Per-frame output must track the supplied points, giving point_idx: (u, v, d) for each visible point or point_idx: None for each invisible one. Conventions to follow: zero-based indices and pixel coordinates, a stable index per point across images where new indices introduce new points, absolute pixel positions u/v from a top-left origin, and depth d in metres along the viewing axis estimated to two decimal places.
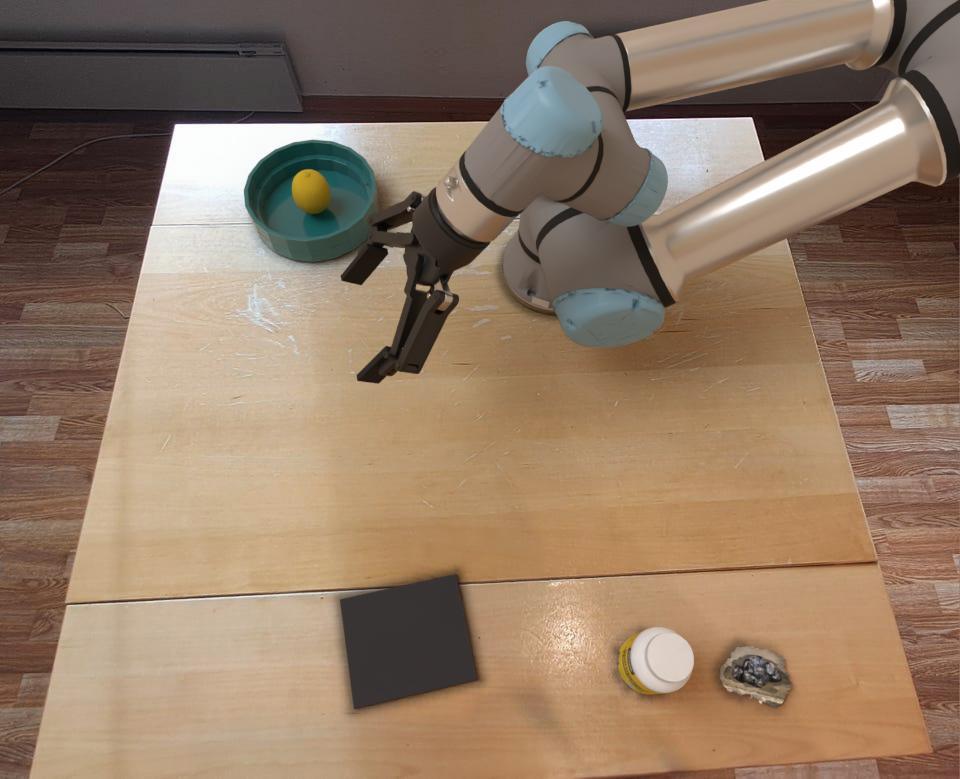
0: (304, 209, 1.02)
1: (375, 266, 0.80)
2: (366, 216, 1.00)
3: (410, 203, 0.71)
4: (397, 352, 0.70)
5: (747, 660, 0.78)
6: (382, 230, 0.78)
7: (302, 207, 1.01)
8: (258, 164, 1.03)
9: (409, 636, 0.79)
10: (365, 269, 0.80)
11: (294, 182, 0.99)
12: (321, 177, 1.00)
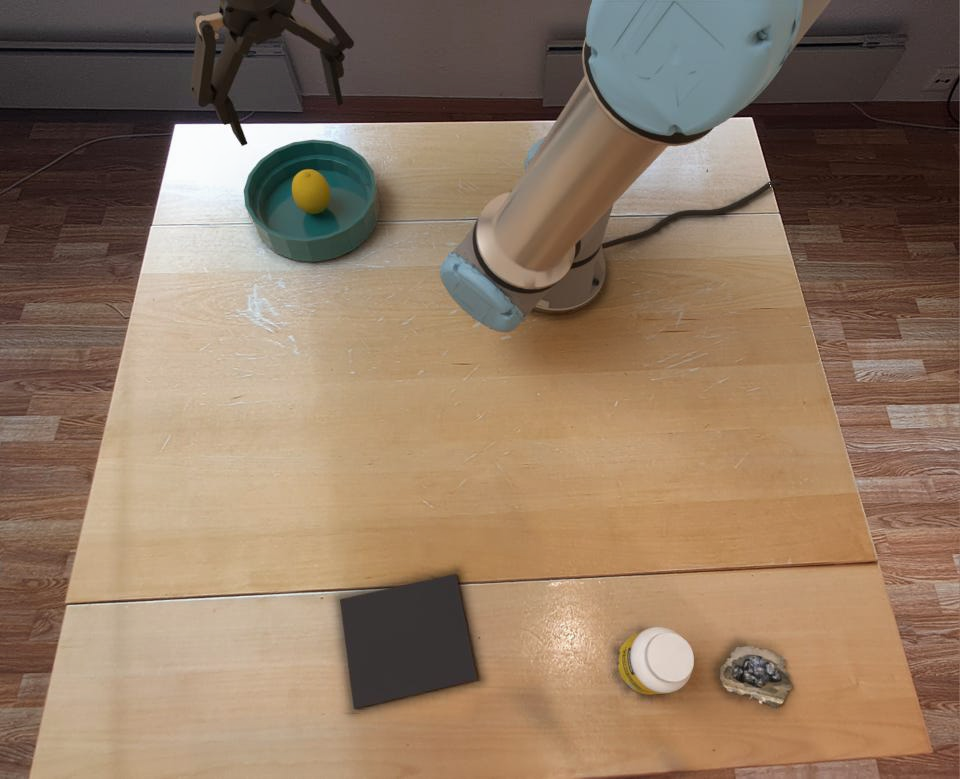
0: (304, 209, 1.02)
1: (332, 80, 0.87)
2: (366, 216, 1.00)
3: None
4: None
5: (747, 660, 0.78)
6: (335, 40, 0.84)
7: (302, 207, 1.01)
8: (258, 164, 1.03)
9: (409, 636, 0.79)
10: (330, 82, 0.88)
11: (294, 182, 0.99)
12: (321, 177, 1.00)
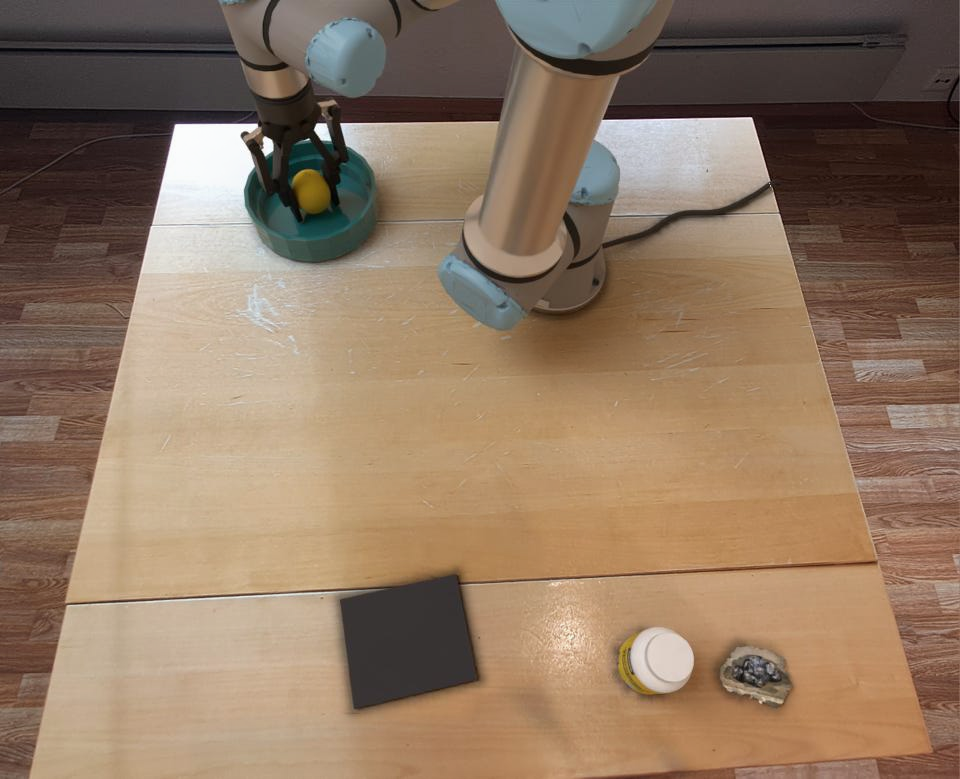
0: (304, 209, 1.02)
1: (330, 187, 1.02)
2: (366, 216, 1.00)
3: None
4: (273, 179, 0.97)
5: (747, 660, 0.78)
6: (333, 157, 0.99)
7: (302, 207, 1.01)
8: None
9: (409, 636, 0.79)
10: None
11: (294, 182, 0.99)
12: (321, 177, 1.00)
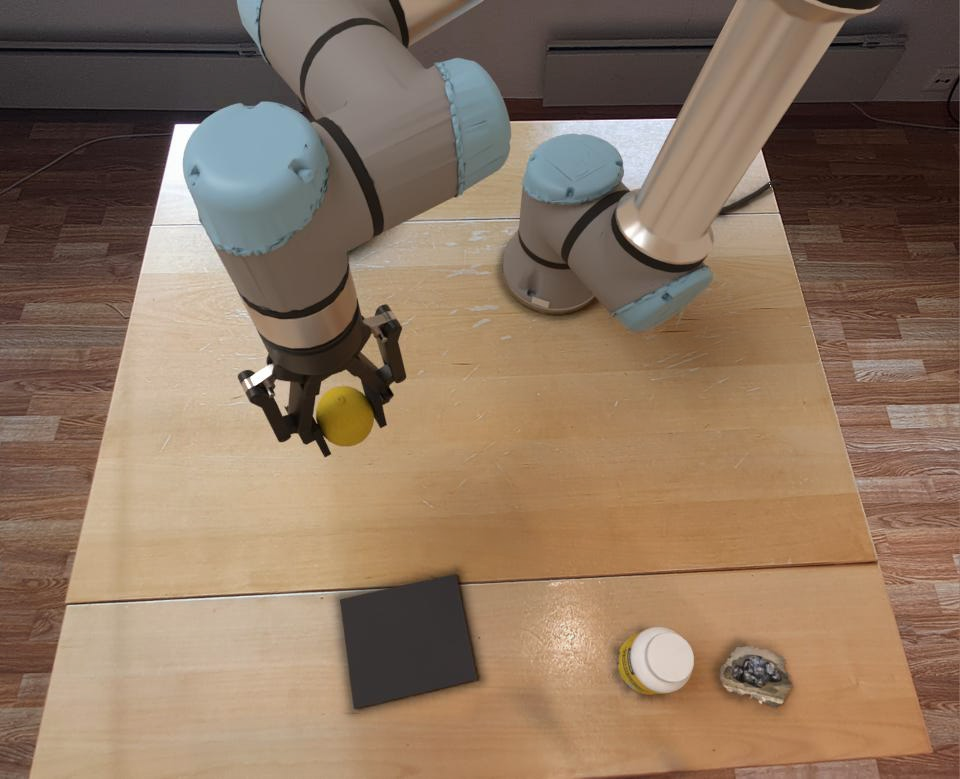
0: (334, 443, 0.67)
1: (375, 411, 0.67)
2: None
3: (376, 314, 0.57)
4: (289, 412, 0.62)
5: (747, 660, 0.78)
6: (382, 374, 0.64)
7: (331, 441, 0.66)
8: None
9: (409, 636, 0.79)
10: None
11: (320, 410, 0.64)
12: (362, 401, 0.65)
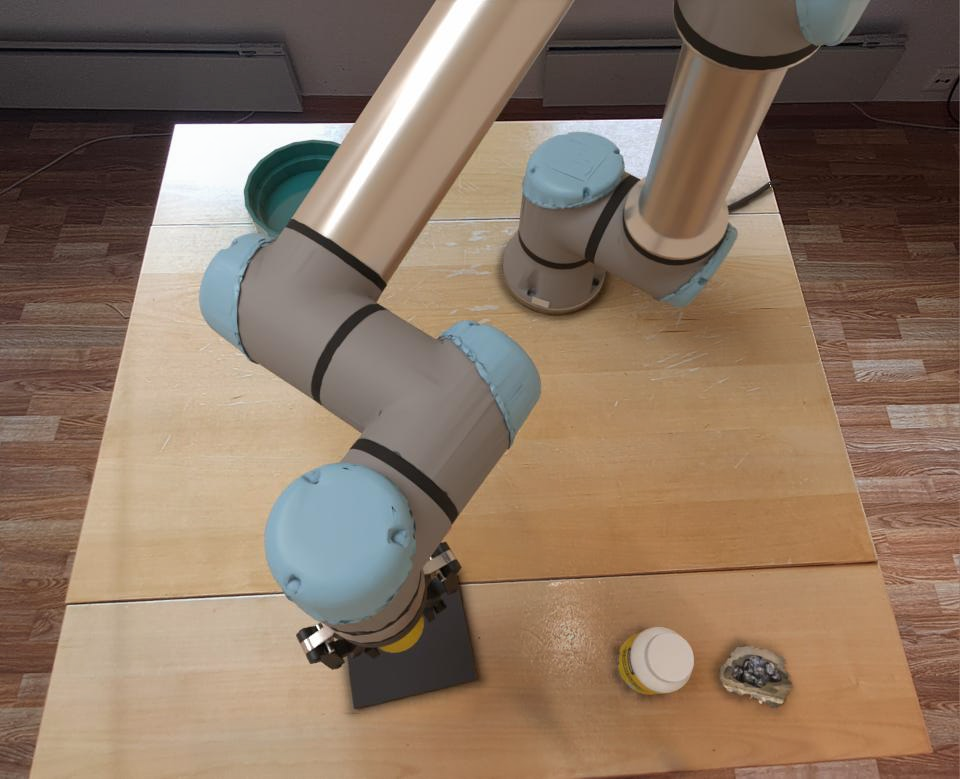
0: None
1: (426, 615, 0.65)
2: None
3: (433, 550, 0.55)
4: None
5: (747, 660, 0.78)
6: (435, 587, 0.62)
7: None
8: (258, 164, 1.03)
9: None
10: None
11: None
12: None
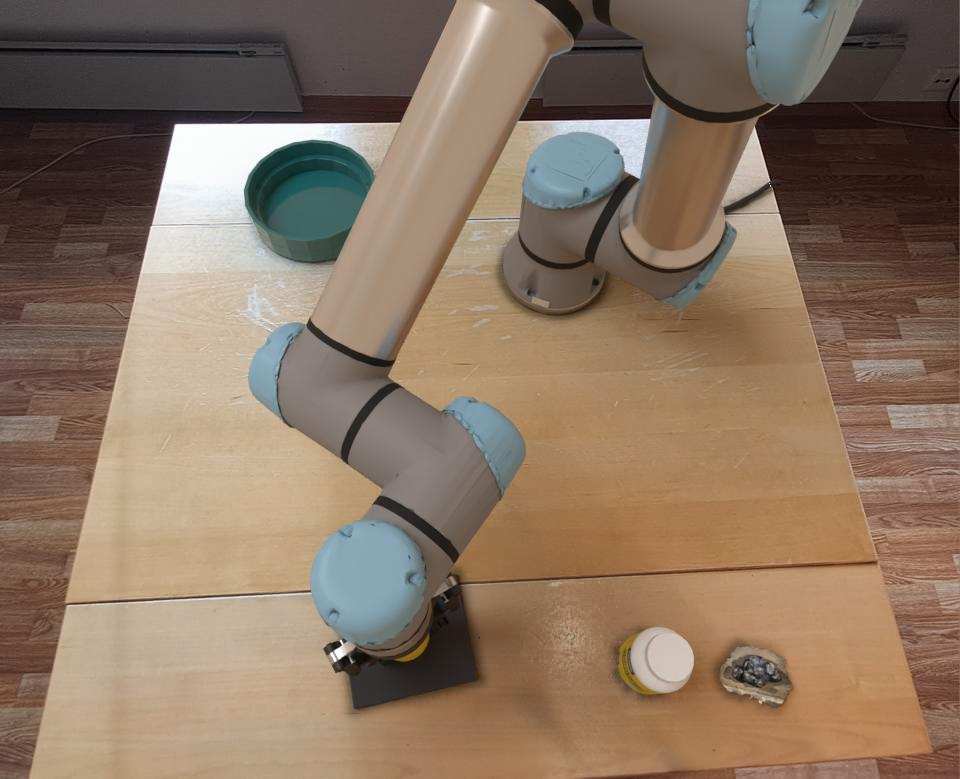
0: None
1: (431, 629, 0.75)
2: None
3: None
4: None
5: (747, 660, 0.78)
6: (439, 605, 0.72)
7: None
8: (258, 164, 1.03)
9: None
10: None
11: None
12: None
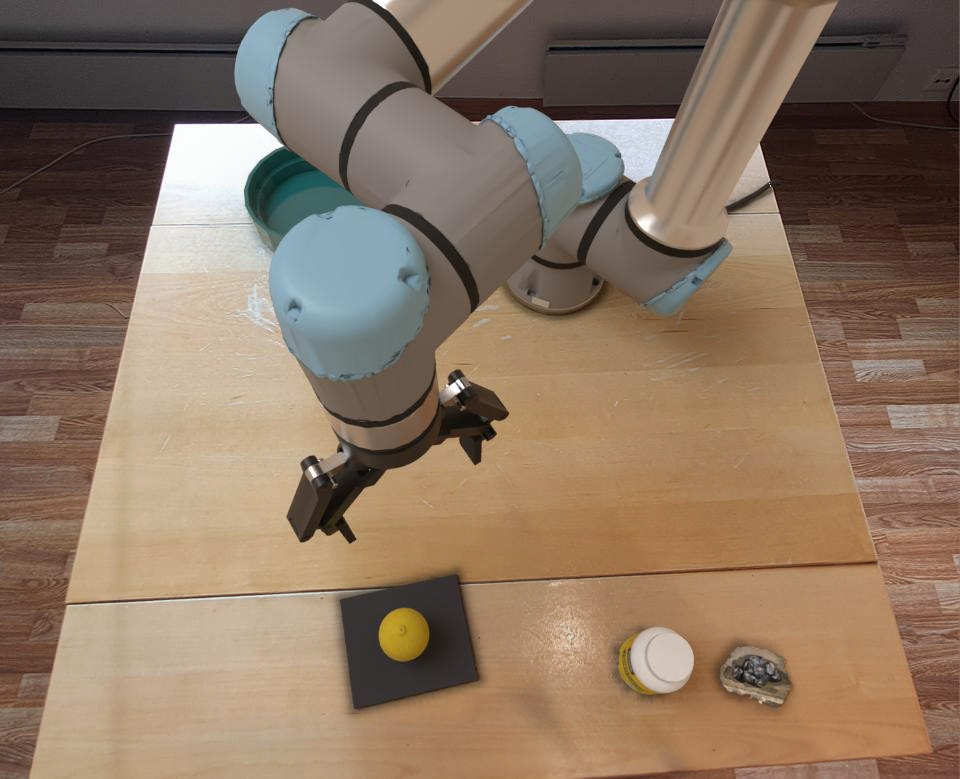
0: None
1: (473, 450, 0.62)
2: None
3: None
4: None
5: (747, 660, 0.78)
6: None
7: None
8: (258, 164, 1.03)
9: None
10: (468, 446, 0.63)
11: (384, 637, 0.72)
12: (420, 626, 0.73)
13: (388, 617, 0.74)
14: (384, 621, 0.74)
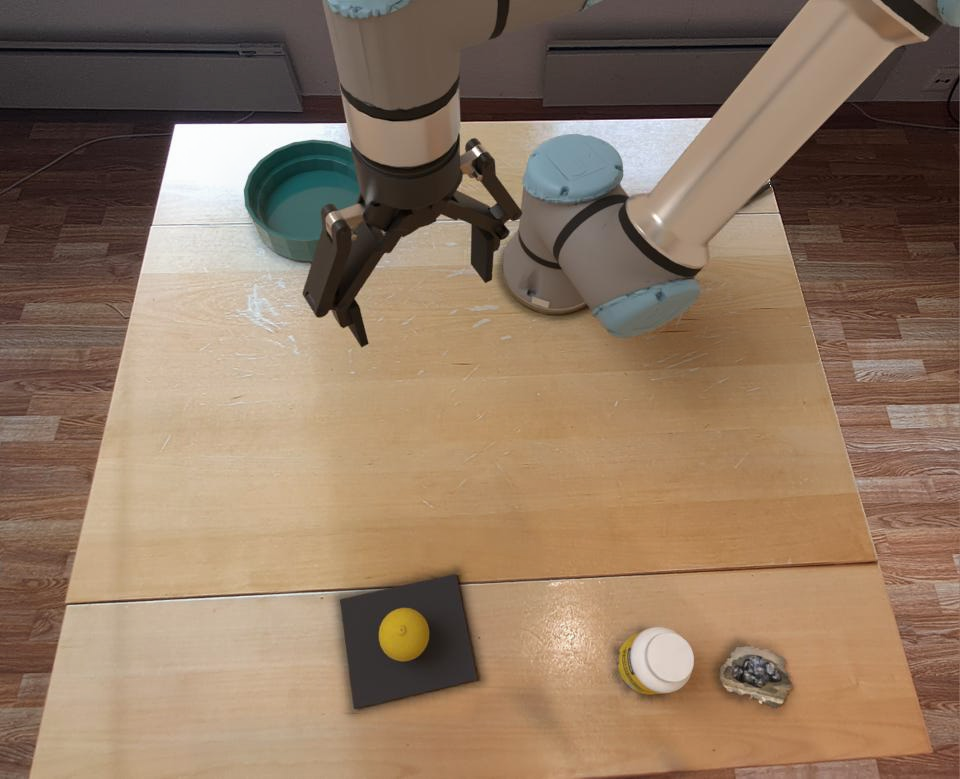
0: None
1: (485, 257, 0.63)
2: None
3: (467, 152, 0.54)
4: None
5: (747, 660, 0.78)
6: (497, 211, 0.60)
7: None
8: (258, 164, 1.03)
9: None
10: (480, 257, 0.64)
11: (384, 637, 0.72)
12: (420, 626, 0.73)
13: (388, 617, 0.74)
14: (384, 621, 0.74)
